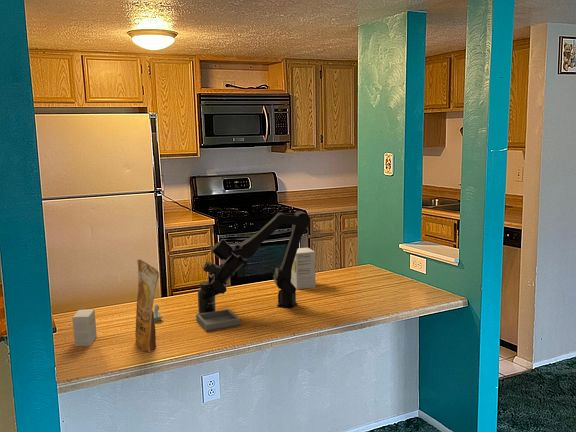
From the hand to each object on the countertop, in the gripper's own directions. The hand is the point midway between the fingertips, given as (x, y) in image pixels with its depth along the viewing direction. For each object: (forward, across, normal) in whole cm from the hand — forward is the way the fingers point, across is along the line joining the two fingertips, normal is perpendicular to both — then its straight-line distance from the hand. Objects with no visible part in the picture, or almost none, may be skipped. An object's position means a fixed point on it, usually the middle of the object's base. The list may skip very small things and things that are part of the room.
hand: (202, 296), depth 216 cm
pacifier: (+18, +3, -9) cm, 21 cm away
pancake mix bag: (+19, +27, -10) cm, 35 cm away
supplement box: (-28, -26, +38) cm, 54 cm away
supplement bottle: (+4, 0, +6) cm, 7 cm away
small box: (+34, +20, -24) cm, 47 cm away
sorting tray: (+1, +13, +8) cm, 15 cm away
